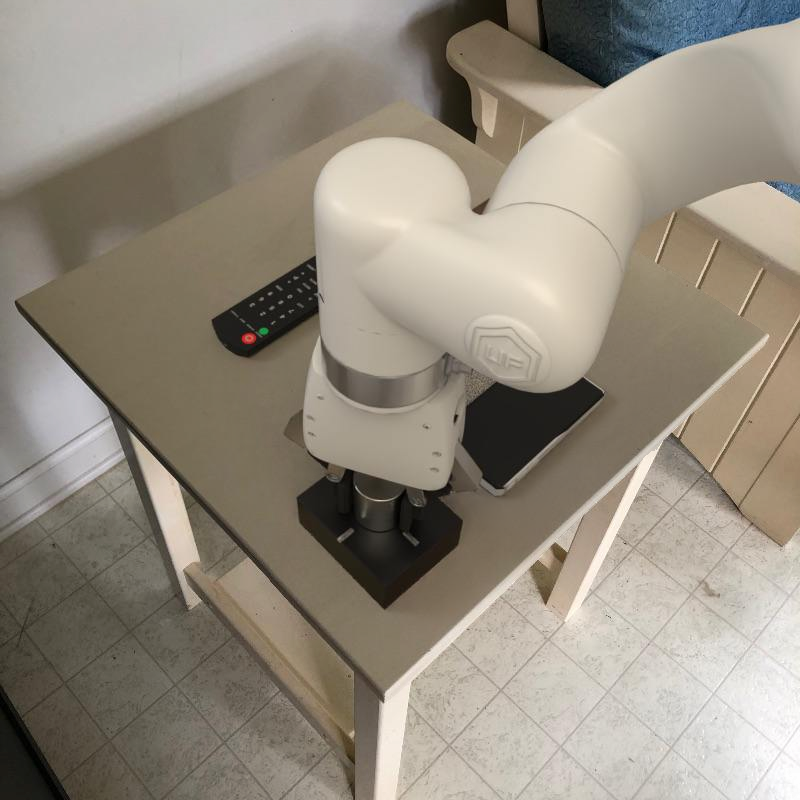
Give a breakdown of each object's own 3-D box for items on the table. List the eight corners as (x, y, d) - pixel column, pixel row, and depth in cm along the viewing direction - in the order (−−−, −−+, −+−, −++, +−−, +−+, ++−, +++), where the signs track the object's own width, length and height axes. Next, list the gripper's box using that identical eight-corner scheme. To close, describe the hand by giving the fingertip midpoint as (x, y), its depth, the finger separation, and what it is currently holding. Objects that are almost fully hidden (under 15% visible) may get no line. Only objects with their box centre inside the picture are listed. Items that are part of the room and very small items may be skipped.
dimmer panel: (459, 544, 65) (464, 518, 62) (383, 611, 62) (384, 587, 58) (373, 465, 69) (374, 437, 66) (298, 523, 66) (294, 496, 63)
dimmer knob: (416, 509, 62) (420, 476, 59) (377, 542, 61) (379, 509, 57) (380, 476, 64) (382, 441, 60) (342, 506, 62) (341, 472, 58)
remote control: (425, 243, 86) (426, 233, 85) (243, 364, 75) (242, 354, 74) (390, 218, 88) (390, 208, 87) (208, 332, 78) (206, 322, 77)
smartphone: (609, 393, 74) (501, 493, 67) (605, 401, 75) (499, 501, 68) (538, 344, 77) (429, 434, 70) (536, 352, 78) (427, 442, 71)
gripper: (541, 337, 49) (498, 496, 63) (276, 270, 51) (294, 438, 66) (513, 437, 44) (474, 583, 59) (224, 357, 47) (256, 516, 61)
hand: (379, 505), depth 62 cm, fingers closed on dimmer knob, 4 cm apart
